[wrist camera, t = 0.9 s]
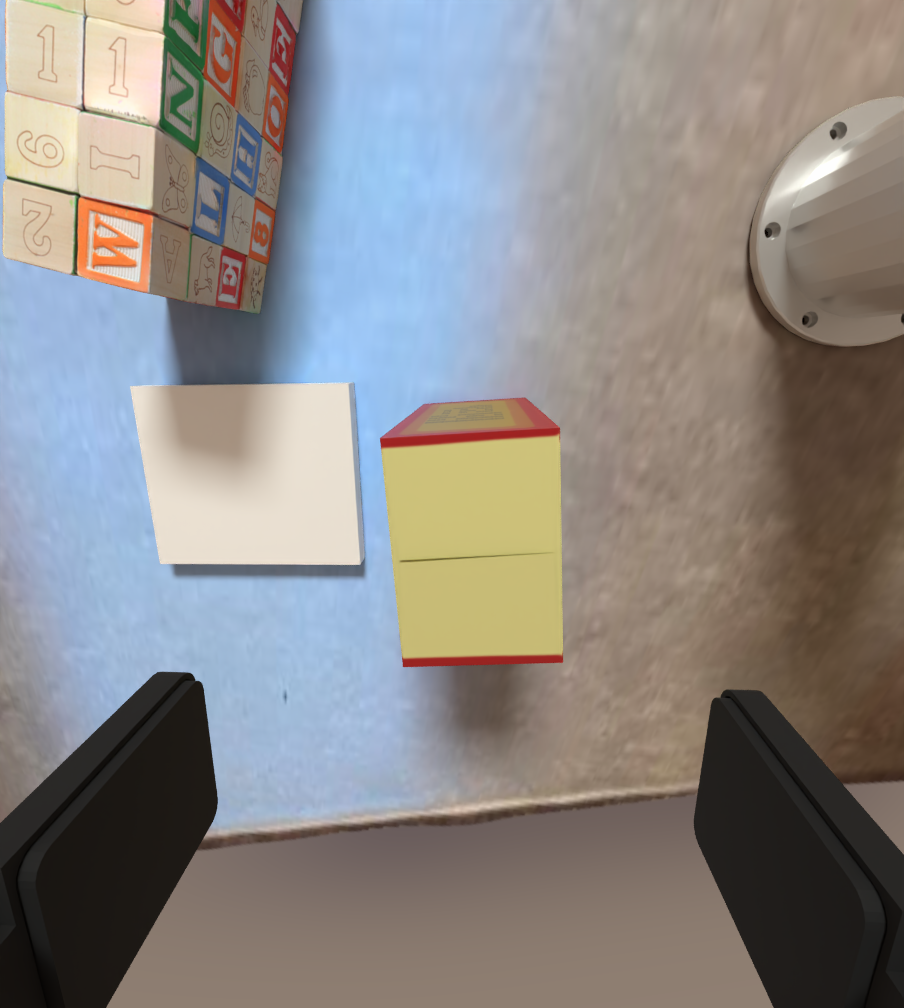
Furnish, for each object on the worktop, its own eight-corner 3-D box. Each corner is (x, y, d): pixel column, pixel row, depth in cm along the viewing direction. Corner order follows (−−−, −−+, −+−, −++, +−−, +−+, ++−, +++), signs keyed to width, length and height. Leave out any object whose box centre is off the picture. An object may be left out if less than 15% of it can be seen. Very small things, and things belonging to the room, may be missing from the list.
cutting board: (354, 382, 34) (348, 383, 33) (364, 556, 38) (360, 564, 36) (144, 385, 35) (130, 386, 34) (172, 556, 38) (160, 563, 37)
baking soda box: (424, 404, 35) (378, 439, 19) (525, 397, 34) (561, 429, 19) (435, 542, 37) (401, 672, 22) (529, 537, 37) (564, 667, 21)
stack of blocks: (203, -129, 28) (-1, -485, 16) (318, -98, 28) (200, -432, 16) (166, 294, 34) (-5, 258, 22) (262, 318, 34) (144, 295, 22)
